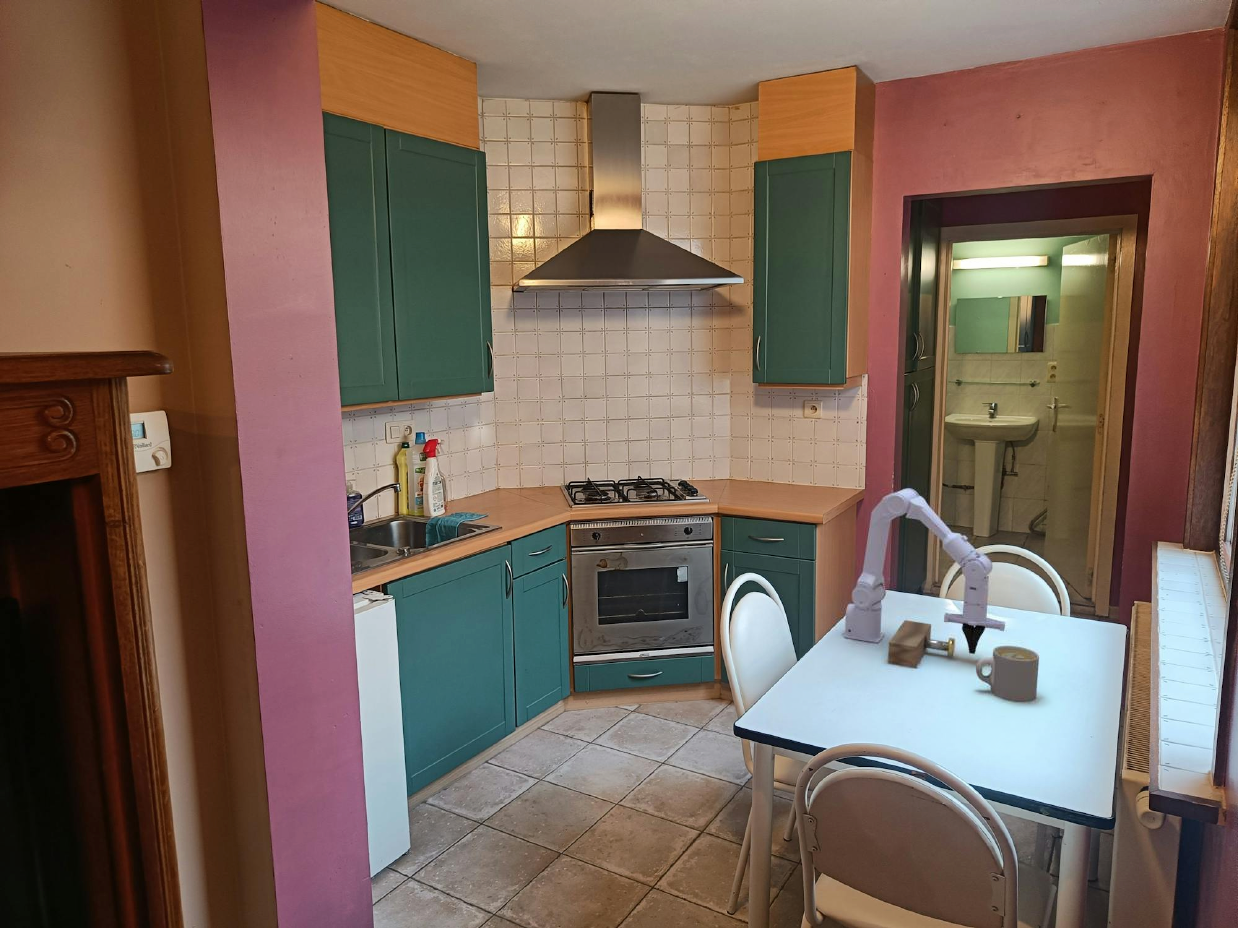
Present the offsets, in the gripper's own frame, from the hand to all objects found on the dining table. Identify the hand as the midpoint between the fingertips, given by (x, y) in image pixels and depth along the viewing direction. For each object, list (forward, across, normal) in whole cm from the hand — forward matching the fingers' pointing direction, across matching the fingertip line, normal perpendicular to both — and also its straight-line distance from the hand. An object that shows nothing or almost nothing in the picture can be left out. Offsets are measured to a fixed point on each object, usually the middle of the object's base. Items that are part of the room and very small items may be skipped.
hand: (972, 652), depth 226 cm
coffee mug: (+3, +10, -17) cm, 20 cm away
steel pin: (+2, -9, 0) cm, 9 cm away
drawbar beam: (+2, -15, -2) cm, 16 cm away
